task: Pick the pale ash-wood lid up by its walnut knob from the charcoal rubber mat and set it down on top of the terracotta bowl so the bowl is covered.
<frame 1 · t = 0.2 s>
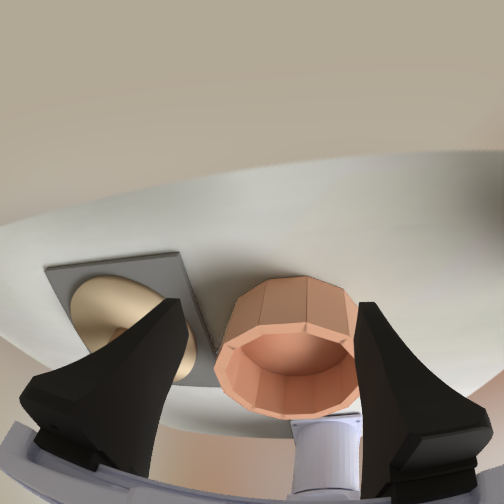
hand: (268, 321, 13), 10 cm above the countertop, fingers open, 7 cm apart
mat: (134, 329, 29), on the countertop
lid: (131, 333, 28), point 1 cm above the countertop, touching mat
bowl: (295, 333, 26), on the countertop
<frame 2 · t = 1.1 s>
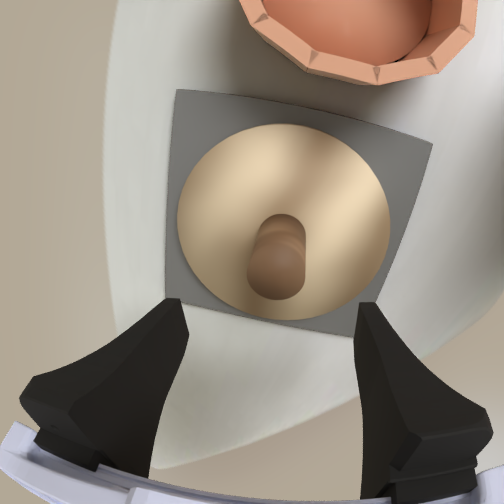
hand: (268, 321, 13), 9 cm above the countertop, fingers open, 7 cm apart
mat: (283, 225, 20), on the countertop
lid: (283, 230, 20), point 1 cm above the countertop, touching mat
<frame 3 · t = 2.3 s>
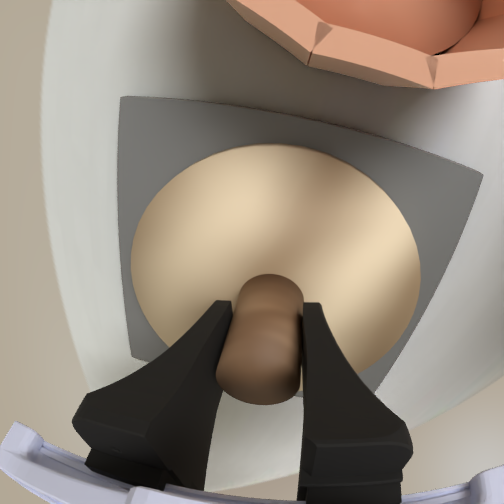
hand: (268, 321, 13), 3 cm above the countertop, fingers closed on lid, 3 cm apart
mat: (274, 282, 15), on the countertop
lid: (273, 290, 15), point 1 cm above the countertop, touching gripper, mat
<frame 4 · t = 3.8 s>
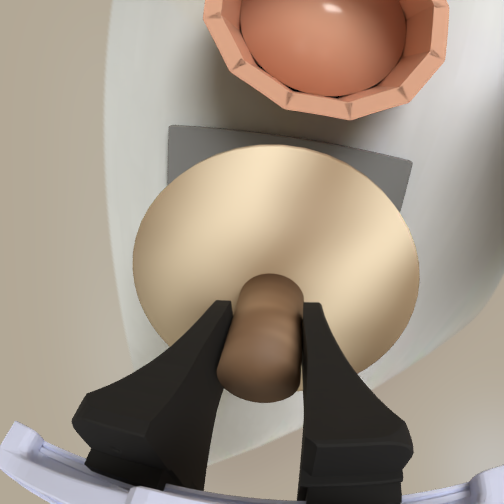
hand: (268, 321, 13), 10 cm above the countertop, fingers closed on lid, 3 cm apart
mat: (276, 246, 22), on the countertop
lid: (273, 290, 15), point 8 cm above the countertop, touching gripper
bowl: (324, 21, 15), on the countertop
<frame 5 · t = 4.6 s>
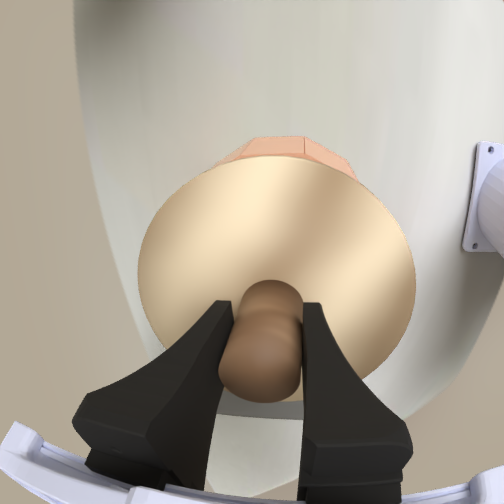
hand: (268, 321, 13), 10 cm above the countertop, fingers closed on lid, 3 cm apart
mat: (276, 372, 29), on the countertop
lid: (274, 297, 15), point 7 cm above the countertop, tilted 5°, touching gripper
bowl: (283, 220, 21), on the countertop
when the fingers open (8 cm above the countertop, at t = 5.2 s): lid stays where it is, resting on bowl.
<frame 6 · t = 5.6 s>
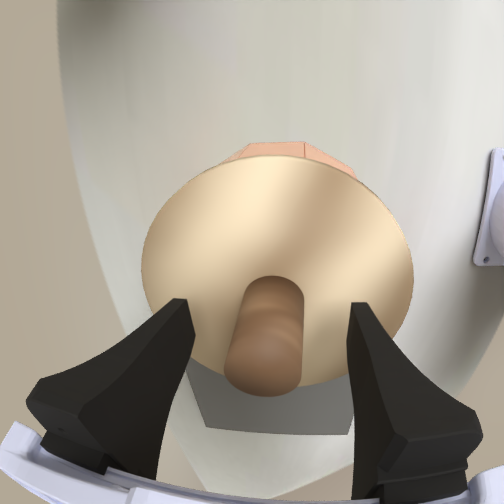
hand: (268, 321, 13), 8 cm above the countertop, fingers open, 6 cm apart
mat: (274, 388, 27), on the countertop
lid: (275, 290, 16), point 5 cm above the countertop, touching bowl
bowl: (281, 233, 20), on the countertop, touching lid
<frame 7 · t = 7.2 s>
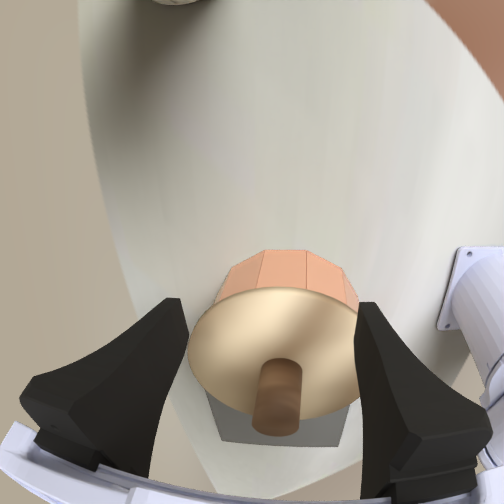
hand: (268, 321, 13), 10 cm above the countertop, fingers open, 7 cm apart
mat: (278, 412, 33), on the countertop
lid: (282, 363, 22), point 5 cm above the countertop, touching bowl
bowl: (287, 311, 26), on the countertop, touching lid
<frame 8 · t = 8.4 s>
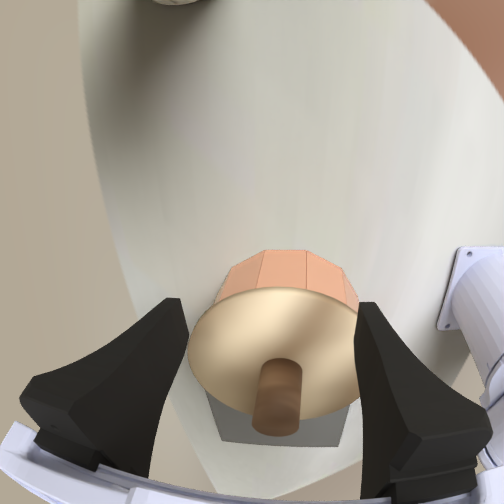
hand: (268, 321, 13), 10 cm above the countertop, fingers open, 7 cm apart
mat: (278, 412, 33), on the countertop
lid: (282, 363, 22), point 5 cm above the countertop, touching bowl
bowl: (287, 311, 26), on the countertop, touching lid
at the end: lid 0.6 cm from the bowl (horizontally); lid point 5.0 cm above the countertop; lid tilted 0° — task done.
